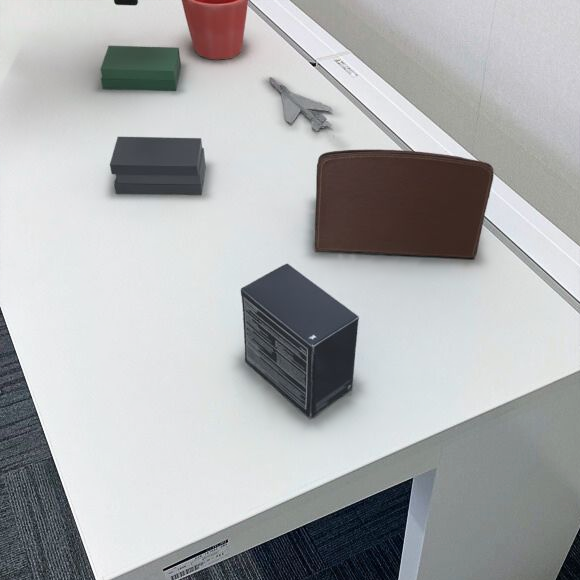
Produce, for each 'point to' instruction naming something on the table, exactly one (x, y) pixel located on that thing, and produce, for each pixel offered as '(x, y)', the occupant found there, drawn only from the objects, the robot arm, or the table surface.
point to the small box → (299, 338)
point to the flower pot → (216, 26)
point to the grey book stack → (158, 165)
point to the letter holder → (400, 203)
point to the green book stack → (141, 68)
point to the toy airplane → (301, 107)
